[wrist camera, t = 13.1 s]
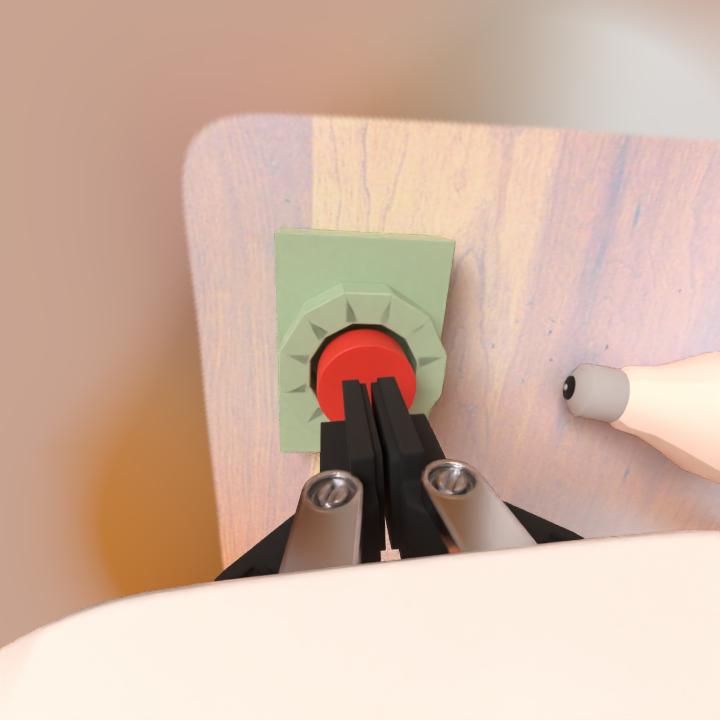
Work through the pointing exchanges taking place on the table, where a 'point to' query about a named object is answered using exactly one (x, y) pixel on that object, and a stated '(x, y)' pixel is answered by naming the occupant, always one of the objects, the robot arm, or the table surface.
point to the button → (361, 368)
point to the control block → (355, 312)
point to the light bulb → (658, 406)
